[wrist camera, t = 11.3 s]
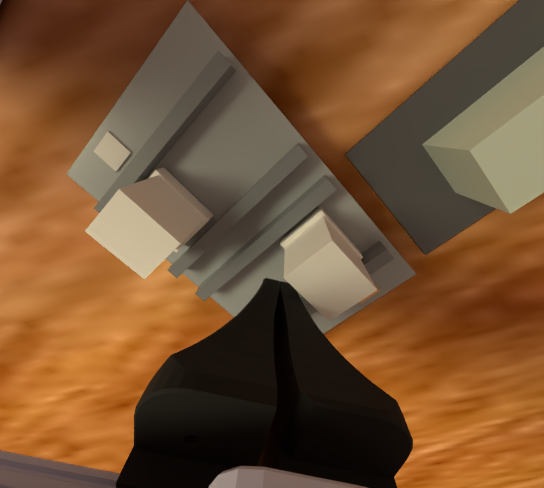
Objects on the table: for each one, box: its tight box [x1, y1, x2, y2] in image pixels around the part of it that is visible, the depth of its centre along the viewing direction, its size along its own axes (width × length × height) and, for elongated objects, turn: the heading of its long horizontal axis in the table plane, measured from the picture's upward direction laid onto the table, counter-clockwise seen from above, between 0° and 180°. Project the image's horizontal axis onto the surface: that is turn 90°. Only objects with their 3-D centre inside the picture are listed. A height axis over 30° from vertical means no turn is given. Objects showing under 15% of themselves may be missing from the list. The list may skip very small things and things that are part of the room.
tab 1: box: [85, 167, 213, 279], centre depth 11 cm, size 3×2×4 cm
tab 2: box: [280, 206, 377, 321], centre depth 11 cm, size 3×2×4 cm
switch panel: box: [67, 0, 416, 334], centre depth 13 cm, size 15×9×2 cm, turn 43°
